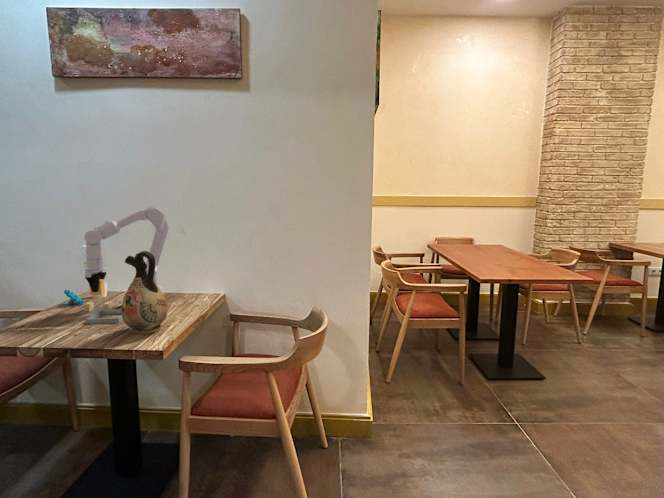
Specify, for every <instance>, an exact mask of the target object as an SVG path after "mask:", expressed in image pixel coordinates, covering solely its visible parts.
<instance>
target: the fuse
mask: <svg viewBox="0 0 664 498" xmlns="http://www.w3.org/2000/svg"><path fill="white" fill-rule="evenodd" d="M104 280H105V278H104V279H100V280H99V290H98V292H92V290H91V287H90V285H89V284H88V286H89V287H88V288H89V296H93V295H102V294H104V293H105V291H104V282H105V281H104Z"/></svg>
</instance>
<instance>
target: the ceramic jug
mask: <svg viewBox="0 0 664 498" xmlns="http://www.w3.org/2000/svg"><path fill="white" fill-rule="evenodd" d="M149 252H150V251H148V250H147V251H146V250H143V251H140V252H138V253H136V254H135V256H132V255H128V256H127V257H126V258H125V259H124V263H125V264H127V265H130V266H131V267H133V268H134V269H135V276H134V277H133V280H132V282H131V283H130V285H129V286H128V288H127V290H126V292H125V294H124V297H123V300H122V303H121V309H122V310H121V311H122V314H121V315H122V318H123V320H122V321H123V322H124V324H125V325H127V326H128V327H129V328H130V329H131V330H132V331H133V333H134V334H136V335H137V334H138V335H140V334H141V335H143V334H144V335H146V334H151V333H156V332H158V331H160V329H162V326H161V325H162V324H163V322H164V321H165V320H166V318H167V315H168V310H169V309H168V303H167V299H166V297H165V295H163V293H162V291H161V290H160V289H159V287H158V286H159V285H158V284H157V285H158V286H157V285H156V283H157V282H156V283H154V281H153V277H154V272H155V257H154V256H153V255H152V254H151V253H149ZM144 258H146V260H147V259H148V262H149V268H148V275H147V272H146V269H147V265H146V261H145V259H144Z"/></svg>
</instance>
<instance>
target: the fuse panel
mask: <svg viewBox="0 0 664 498" xmlns="http://www.w3.org/2000/svg"><path fill="white" fill-rule="evenodd" d="M118 307H119V306H117V305H113V301H106V302H105V303H102V306H95V304H94V302H93V301H87V302H86V303H84V304H83V309H84V310H82V311H81V312H79V313H77V315H93V314H94V313H96V312H97V311H99V310H116V309H117V308H118Z"/></svg>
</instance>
